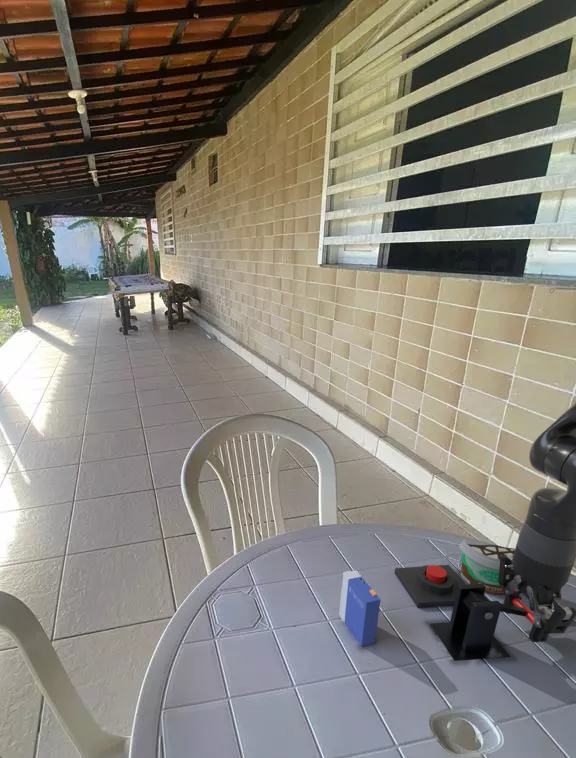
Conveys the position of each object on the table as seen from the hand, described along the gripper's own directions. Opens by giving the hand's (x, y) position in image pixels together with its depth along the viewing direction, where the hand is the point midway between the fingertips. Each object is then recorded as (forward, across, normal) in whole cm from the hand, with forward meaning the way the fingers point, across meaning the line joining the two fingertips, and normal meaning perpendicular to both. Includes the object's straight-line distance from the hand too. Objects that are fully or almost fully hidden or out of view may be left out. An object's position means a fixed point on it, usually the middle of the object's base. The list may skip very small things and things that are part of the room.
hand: (522, 625), depth 76 cm
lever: (-4, 0, +5) cm, 6 cm away
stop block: (+4, +13, +8) cm, 16 cm away
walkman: (+4, +4, +28) cm, 29 cm away
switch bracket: (+4, 0, +9) cm, 10 cm away
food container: (+4, +12, -3) cm, 13 cm away
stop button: (0, +13, +8) cm, 15 cm away
